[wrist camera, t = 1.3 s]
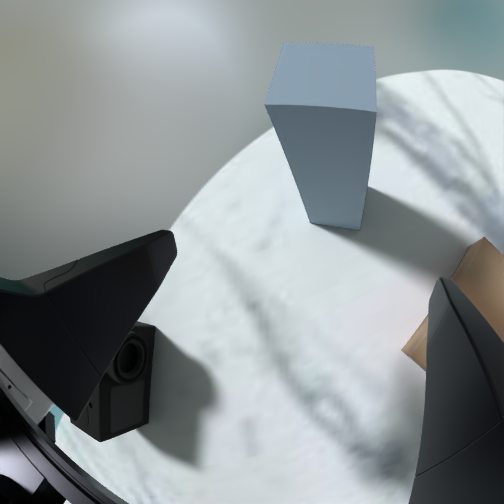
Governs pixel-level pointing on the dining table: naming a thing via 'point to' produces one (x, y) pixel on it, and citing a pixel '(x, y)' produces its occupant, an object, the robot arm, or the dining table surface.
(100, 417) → the digital camera
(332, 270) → the dining table surface
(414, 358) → the walnut block
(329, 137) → the slate pillar
